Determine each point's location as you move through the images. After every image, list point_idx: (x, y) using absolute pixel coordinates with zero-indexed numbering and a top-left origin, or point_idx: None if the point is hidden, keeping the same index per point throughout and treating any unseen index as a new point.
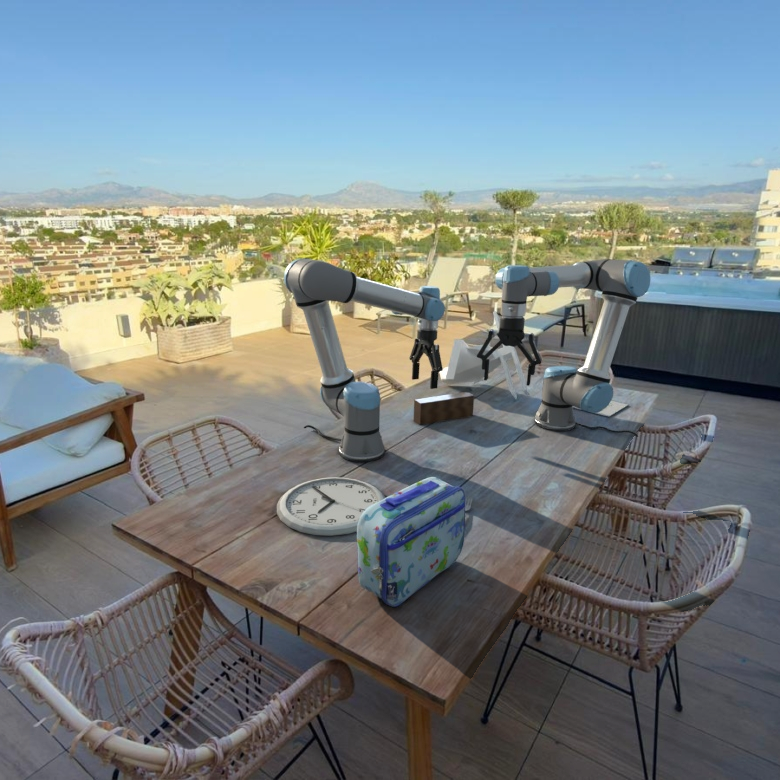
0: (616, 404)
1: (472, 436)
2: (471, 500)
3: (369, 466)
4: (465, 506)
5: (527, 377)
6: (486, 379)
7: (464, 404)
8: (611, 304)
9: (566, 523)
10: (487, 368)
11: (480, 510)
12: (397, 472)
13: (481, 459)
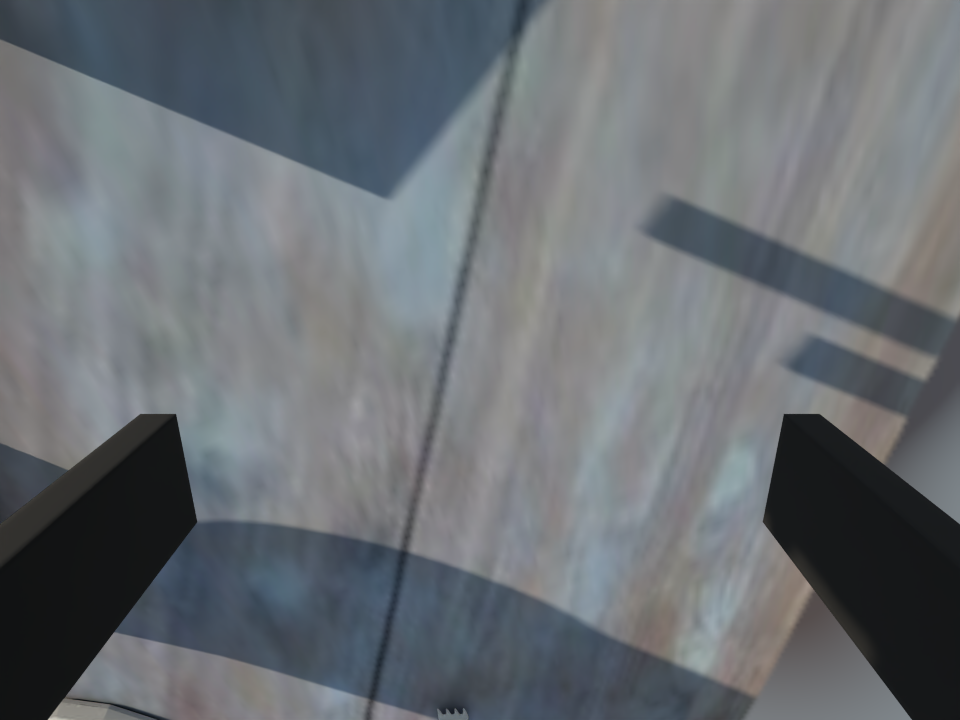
0: None
1: (257, 40)
2: (464, 711)
3: None
4: (452, 718)
5: (829, 607)
6: (189, 521)
7: None
8: None
9: (761, 685)
10: (80, 641)
11: (499, 707)
12: None
13: (403, 350)
